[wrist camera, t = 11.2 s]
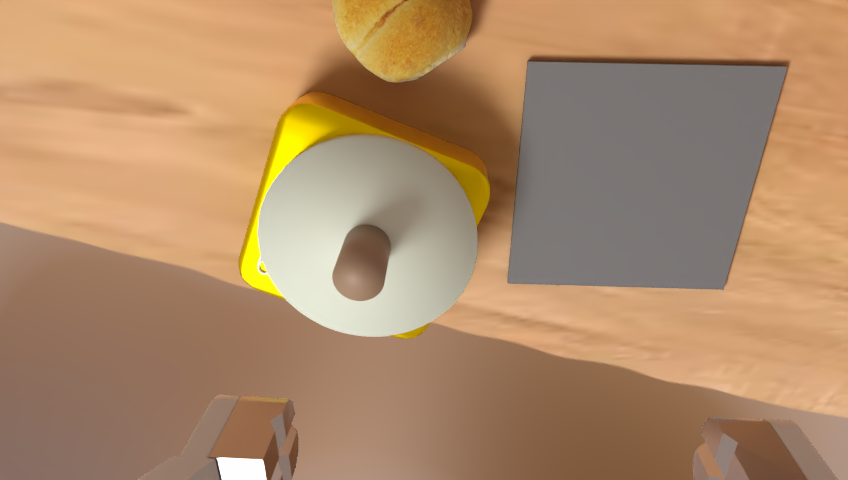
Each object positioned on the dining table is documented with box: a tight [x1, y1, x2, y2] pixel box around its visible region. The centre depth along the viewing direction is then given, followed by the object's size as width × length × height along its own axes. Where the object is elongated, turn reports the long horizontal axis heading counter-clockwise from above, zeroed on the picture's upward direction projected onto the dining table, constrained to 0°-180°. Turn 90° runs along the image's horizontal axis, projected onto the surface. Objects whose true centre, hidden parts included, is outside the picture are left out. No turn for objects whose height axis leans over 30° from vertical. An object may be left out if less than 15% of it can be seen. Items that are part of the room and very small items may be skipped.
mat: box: [508, 61, 787, 290], centre depth 41 cm, size 17×17×1 cm
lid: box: [257, 134, 478, 337], centre depth 36 cm, size 15×15×6 cm
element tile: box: [239, 92, 490, 339], centre depth 41 cm, size 15×15×5 cm
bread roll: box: [332, 0, 472, 83], centre depth 35 cm, size 8×9×4 cm
